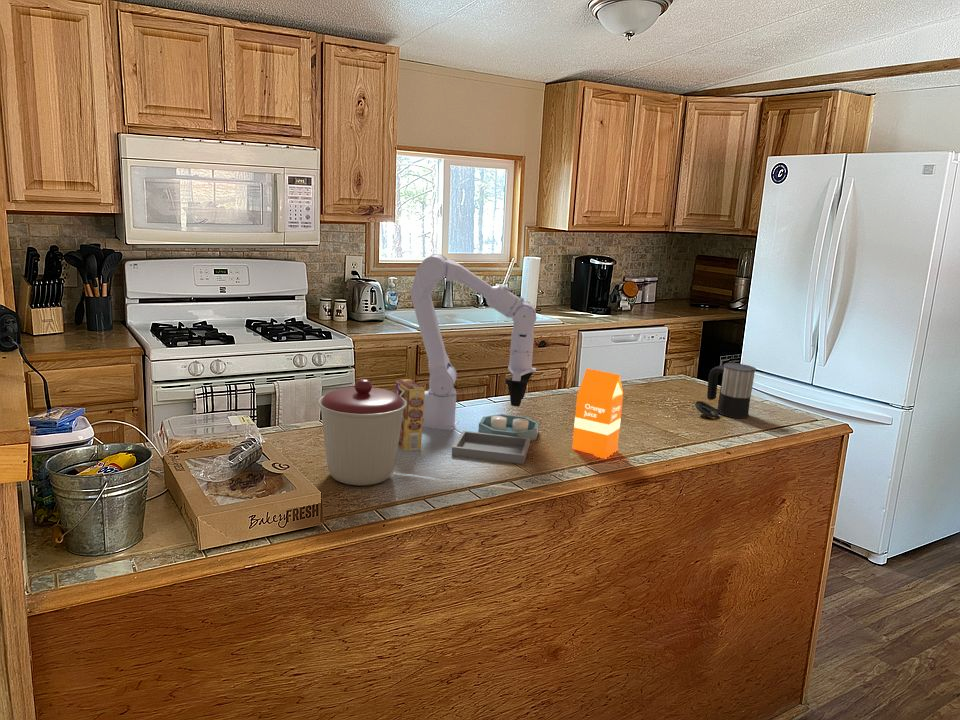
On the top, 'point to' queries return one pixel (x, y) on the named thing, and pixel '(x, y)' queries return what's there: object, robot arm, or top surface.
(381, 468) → the canister
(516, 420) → the pebble
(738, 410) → the milk frother
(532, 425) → the bowl
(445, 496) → the top surface
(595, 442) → the orange juice
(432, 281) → the robot arm
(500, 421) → the pebble
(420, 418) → the candy box
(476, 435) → the tray
